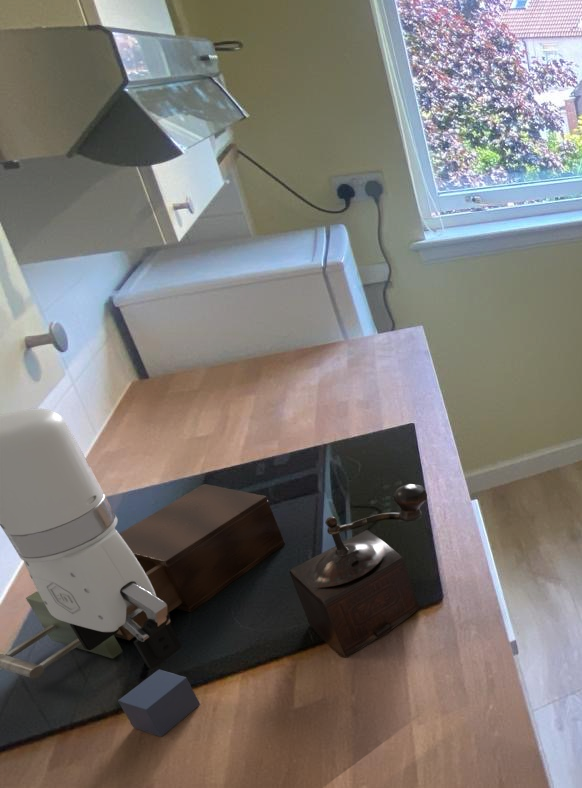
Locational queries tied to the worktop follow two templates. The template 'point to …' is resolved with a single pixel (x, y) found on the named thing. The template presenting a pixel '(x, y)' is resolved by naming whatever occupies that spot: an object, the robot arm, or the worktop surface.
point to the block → (159, 702)
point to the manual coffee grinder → (359, 581)
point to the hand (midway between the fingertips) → (133, 648)
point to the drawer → (67, 636)
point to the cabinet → (206, 540)
